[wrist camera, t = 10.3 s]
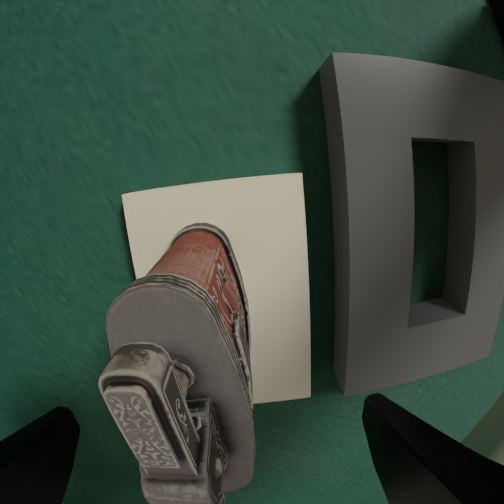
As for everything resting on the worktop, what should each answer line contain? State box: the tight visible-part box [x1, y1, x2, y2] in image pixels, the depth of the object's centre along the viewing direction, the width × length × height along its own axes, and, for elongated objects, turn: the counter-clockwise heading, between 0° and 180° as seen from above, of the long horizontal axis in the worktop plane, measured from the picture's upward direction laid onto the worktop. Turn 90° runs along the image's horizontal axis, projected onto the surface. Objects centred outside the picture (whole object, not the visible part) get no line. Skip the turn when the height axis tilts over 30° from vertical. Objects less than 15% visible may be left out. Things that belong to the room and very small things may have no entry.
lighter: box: [98, 223, 255, 504], centre depth 10 cm, size 8×3×10 cm, turn 8°
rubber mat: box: [122, 173, 311, 404], centre depth 15 cm, size 8×12×1 cm, turn 6°
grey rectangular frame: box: [319, 52, 504, 397], centre depth 14 cm, size 10×16×2 cm, turn 6°
